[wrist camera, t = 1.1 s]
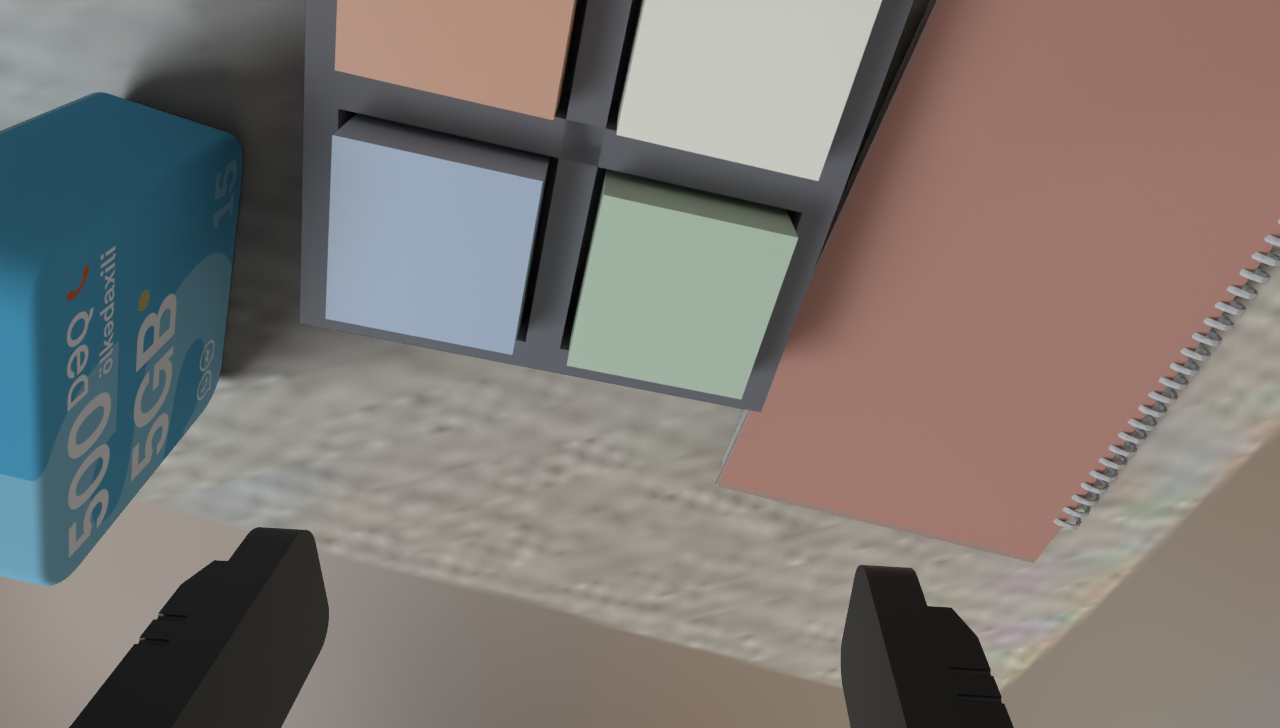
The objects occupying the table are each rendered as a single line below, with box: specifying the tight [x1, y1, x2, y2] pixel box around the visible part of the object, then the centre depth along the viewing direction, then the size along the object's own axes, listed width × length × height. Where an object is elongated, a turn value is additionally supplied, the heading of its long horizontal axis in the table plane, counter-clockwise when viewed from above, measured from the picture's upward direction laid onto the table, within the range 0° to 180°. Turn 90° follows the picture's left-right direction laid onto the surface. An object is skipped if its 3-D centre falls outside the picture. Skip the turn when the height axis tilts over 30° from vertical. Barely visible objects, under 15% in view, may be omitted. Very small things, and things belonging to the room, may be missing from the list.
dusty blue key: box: [325, 113, 551, 355], centre depth 26 cm, size 6×6×4 cm
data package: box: [0, 92, 243, 586], centre depth 26 cm, size 12×4×12 cm, turn 161°
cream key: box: [616, 0, 882, 181], centre depth 23 cm, size 6×6×4 cm
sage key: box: [567, 169, 798, 399], centre depth 27 cm, size 6×6×4 cm
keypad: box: [300, 0, 914, 412], centre depth 27 cm, size 16×16×4 cm
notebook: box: [715, 0, 1280, 563], centre depth 31 cm, size 27×17×2 cm, turn 163°
